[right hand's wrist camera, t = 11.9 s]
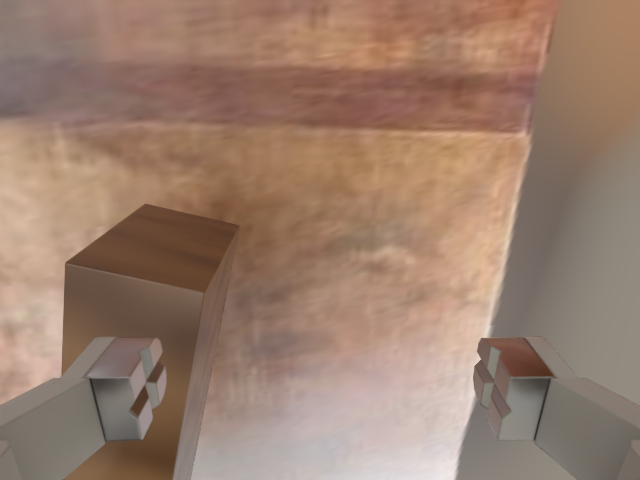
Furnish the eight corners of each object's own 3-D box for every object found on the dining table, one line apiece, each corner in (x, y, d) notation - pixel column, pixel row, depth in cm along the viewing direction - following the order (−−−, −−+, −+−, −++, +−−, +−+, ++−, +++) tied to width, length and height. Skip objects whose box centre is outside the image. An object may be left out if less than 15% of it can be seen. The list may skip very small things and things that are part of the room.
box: (144, 203, 26) (64, 262, 18) (240, 225, 27) (205, 292, 18) (113, 504, 36) (52, 633, 28) (183, 515, 36) (144, 645, 28)
